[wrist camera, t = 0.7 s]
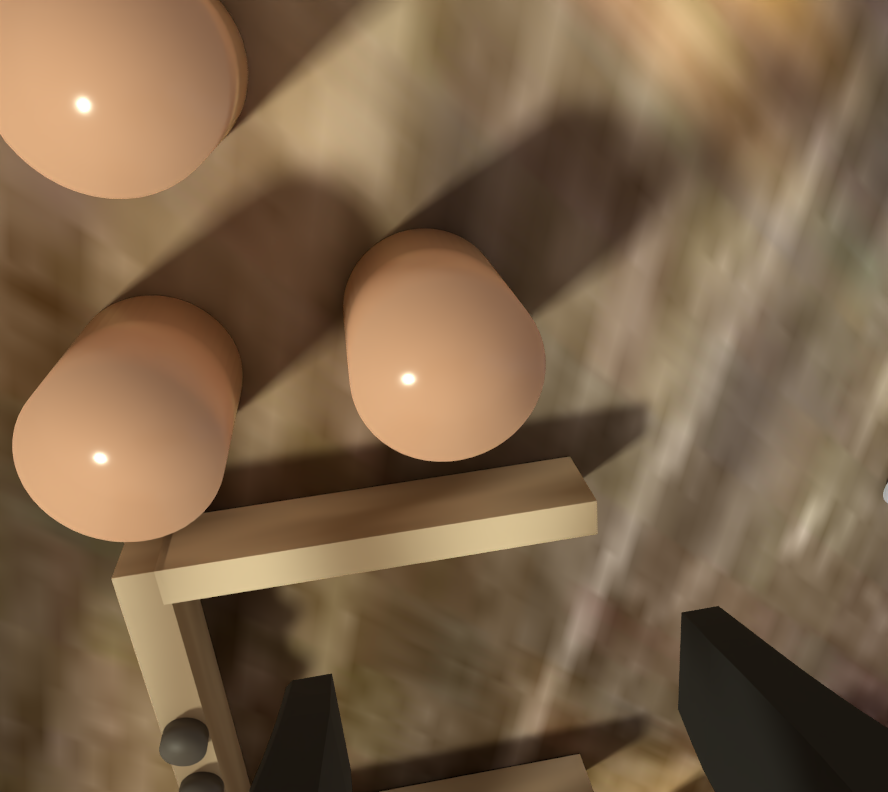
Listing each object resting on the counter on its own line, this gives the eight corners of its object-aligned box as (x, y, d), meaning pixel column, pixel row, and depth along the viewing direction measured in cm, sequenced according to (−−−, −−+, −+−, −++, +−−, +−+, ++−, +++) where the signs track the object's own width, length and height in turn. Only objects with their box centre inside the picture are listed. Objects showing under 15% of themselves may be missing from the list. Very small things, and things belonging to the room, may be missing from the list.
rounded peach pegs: (570, 80, 19) (638, 92, 15) (449, 490, 23) (477, 587, 19) (59, -66, 16) (-24, -98, 12) (24, 424, 20) (-48, 520, 16)
